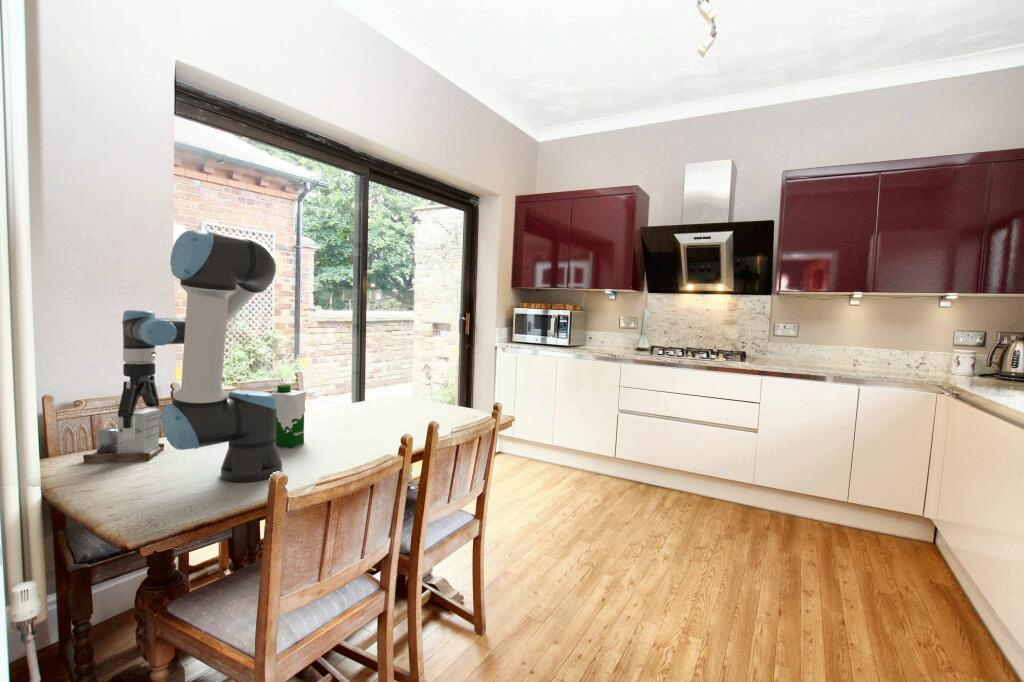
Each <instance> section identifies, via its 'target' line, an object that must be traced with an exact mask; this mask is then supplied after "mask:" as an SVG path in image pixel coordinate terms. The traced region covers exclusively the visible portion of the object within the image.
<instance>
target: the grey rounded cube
mask: <svg viewBox="0 0 1024 682" xmlns="http://www.w3.org/2000/svg"><path fill="white" fill-rule="evenodd" d="M96 452H97V454H115V453H118V427H113V426H112V427H103V428H98V429H96Z"/></svg>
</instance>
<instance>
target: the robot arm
mask: <svg viewBox="0 0 1024 682" xmlns="http://www.w3.org/2000/svg"><path fill="white" fill-rule="evenodd" d="M169 264H170V267H171V269H170V270H171V273H172V275H173V276H174V277H175V278H176V279H178V280H180V283H179V285H180V287H181V288H182V289H183V290H184V291H185V292H186V295H187V296H186V308H185V309H186V311H185V318H165V317H164V318H156V315H155V312H154V311H152V310H136V309H135V310H131V309H129V310H128V309H127V310H125V311H123V317H122V321H121V323H122V361H123V362H124V363H123V367H122V368H123V370H122V371H123V373H122V374H123V376H124V377H129V381H127V380H126V381H123V387H122V394H121V397H120V398H121V399H120V403H119V406H118V411H117V418H118V417H122V430H123V439H135V416H133V414H134V411H135V408H137V404H138V402H139V399H140V398H142V401H143V402H144V404H145V406H144V408H146V409H157V408H156V407H160V400H159V395H158V391H157V386H156V382H155V374H156V363H155V362H154V361H156V355H157V352H158V351H156V346H157V347H158V346H166V345H183V352H182V353H183V354H182V355H183V357H182V369H181V370H182V371H181V385H180V389H178V390H177V391H176V392H174V394H173V397H172V403H168V404H166V405H165V406H163V407H162V410H161V413H160V414H161V415H160V418H161V419H160V420H161V426H162V430H163V434H164V436H165V438H166V440H167V442H168V443H169V445H170V446H172V447H173V448H174V449H175V450H178V451H179V450H180V451H182V450H183V451H185V450H191V449H194V450H196V449H199V448H203V447H207V446H208V447H209V446H213V445H219V444H222V443H228V447H227V448H228V449H227V451H226V454H225V457H224V459H223V462H222V464H221V468H220V478H221V480H225V481H227V482H232V483H250V482H259V481H262V480H267V479H270V478H269V477H270V475H271V474H272V473H273V472H276V471H281V472H282V471H283V461H282V458H281V456H280V454H279V451H278V447H276V410H277V405H276V397H275V396H274V395H273V394H272V393H271V392H267V391H258V390H246V389H245V390H244V389H235V390H230V392H229V393H227V392H226V391H225V390H223V388H222V387H223V386H222V384H223V371H224V358H225V357H224V356H225V349H226V348H225V345H226V336H227V325H228V324H229V322H231V320H232V319H233V318H234V317H235V316H236V315H237V314H238V313H239V312H240V311H241V310H242V309H243V307H244V306H245V305H246V304H247V303H248V302H249V301H251V300H252V298H253V297H254V296H255V295H256V294H260V293H262V292H265V290H267V288H269V286H270V285H271V284H272V282H273V281H274V279H275V275H276V271H277V268H276V267H277V266H276V260H275V258H274V256H273V254H272V252H271V251H270V249H269V247H267V246H266V245H264V244H263V243H262V242H260V241H258V240H257V239H253V238H250V237H241V236H237V235H230V234H225V233H218V232H217V233H216V232H211V231H204V230H203V231H202V230H193V229H191V230H187V231H184V232H183V233H181V234H180V235H179V236H178V238H177V239H176V241H175V242H174V244H173V246H172V250H171V254H170V262H169Z"/></svg>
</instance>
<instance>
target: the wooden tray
mask: <svg viewBox="0 0 1024 682" xmlns="http://www.w3.org/2000/svg"><path fill="white" fill-rule="evenodd" d="M163 450H165V443H164V442H163V443H162V442H161V443H160V442H159V449H157V450H155V451H152V452H150V453H120V454H118V453H115V454H97V451H95V452H93V453H90V454H88V453H87V454H86V453H85V454H83V455H82V459H83V463H112V462H114V463H117V461H118V462H138V461H137V460H149V461H151V460H153V459H154V458H155V457H157V456H158V455H159V454H158V453H160V452H161V451H162V452H164V451H163ZM162 452H161V453H162ZM161 453H160V454H161ZM157 454H158V455H157ZM156 455H157V456H156ZM154 456H155V457H154ZM153 457H154V458H153ZM150 459H151V460H150Z"/></svg>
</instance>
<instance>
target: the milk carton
mask: <svg viewBox="0 0 1024 682" xmlns="http://www.w3.org/2000/svg"><path fill="white" fill-rule="evenodd" d="M276 387H277V389H276V390H277V391H275V392H272V393H271V394H273V395H274V396H275V397H276V405H277V410H276V446H280V447H279V448H285V447H287V449H293V448H295V447H298V446H300V445H302V444H304V443H305V403H306V398H307V397H306V396H307V391H301V390H294V389H291V387H292V386H291V385H290V384H280V385H277V386H276Z"/></svg>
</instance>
